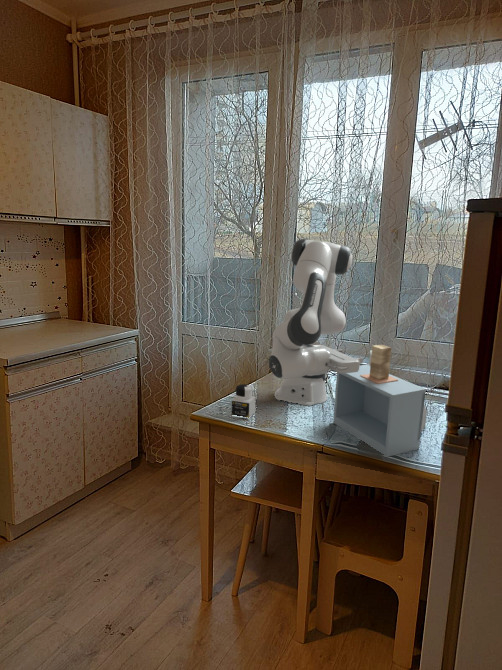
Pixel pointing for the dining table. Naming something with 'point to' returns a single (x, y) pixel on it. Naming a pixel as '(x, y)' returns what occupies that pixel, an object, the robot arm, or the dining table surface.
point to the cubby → (380, 410)
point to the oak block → (380, 362)
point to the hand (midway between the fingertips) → (352, 356)
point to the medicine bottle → (243, 401)
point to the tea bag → (424, 418)
